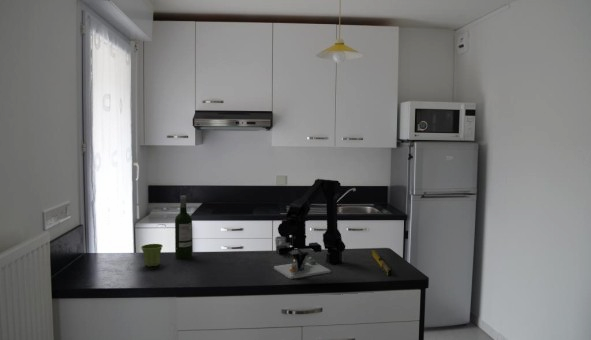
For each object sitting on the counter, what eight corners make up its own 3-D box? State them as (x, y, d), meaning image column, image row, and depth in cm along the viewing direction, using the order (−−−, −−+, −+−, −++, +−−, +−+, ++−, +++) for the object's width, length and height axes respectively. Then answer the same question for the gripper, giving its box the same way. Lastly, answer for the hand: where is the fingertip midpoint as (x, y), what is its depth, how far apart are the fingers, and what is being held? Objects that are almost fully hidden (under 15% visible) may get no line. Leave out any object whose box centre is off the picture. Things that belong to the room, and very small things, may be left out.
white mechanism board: (311, 262, 201) (311, 254, 201) (330, 272, 186) (330, 264, 186) (273, 268, 191) (273, 259, 191) (290, 279, 177) (290, 270, 177)
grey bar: (309, 264, 193) (309, 256, 193) (297, 275, 177) (297, 267, 177) (299, 263, 195) (299, 255, 195) (285, 274, 179) (286, 265, 178)
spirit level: (371, 255, 216) (371, 249, 216) (374, 255, 216) (374, 249, 216) (388, 276, 183) (388, 269, 183) (391, 276, 183) (391, 269, 183)
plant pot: (136, 266, 191) (136, 247, 191) (151, 260, 200) (150, 242, 199) (153, 269, 188) (153, 249, 187) (167, 263, 197) (167, 244, 196)
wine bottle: (183, 259, 202) (182, 197, 200) (171, 257, 207) (171, 196, 204) (195, 256, 209) (195, 195, 207) (184, 253, 213) (183, 194, 211)
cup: (287, 257, 209) (287, 241, 209) (271, 256, 211) (272, 240, 210) (291, 251, 220) (292, 236, 219) (277, 250, 221) (277, 235, 221)
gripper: (313, 226, 189) (313, 261, 190) (272, 229, 184) (273, 264, 185) (322, 232, 178) (322, 268, 180) (279, 235, 173) (279, 272, 174)
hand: (298, 268), depth 180 cm, fingers closed
